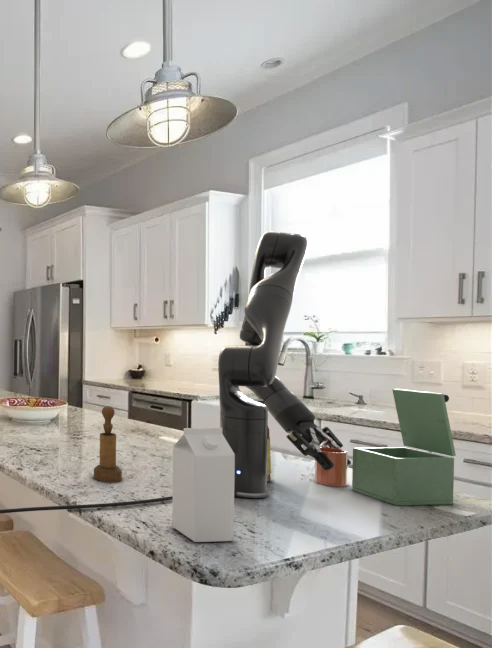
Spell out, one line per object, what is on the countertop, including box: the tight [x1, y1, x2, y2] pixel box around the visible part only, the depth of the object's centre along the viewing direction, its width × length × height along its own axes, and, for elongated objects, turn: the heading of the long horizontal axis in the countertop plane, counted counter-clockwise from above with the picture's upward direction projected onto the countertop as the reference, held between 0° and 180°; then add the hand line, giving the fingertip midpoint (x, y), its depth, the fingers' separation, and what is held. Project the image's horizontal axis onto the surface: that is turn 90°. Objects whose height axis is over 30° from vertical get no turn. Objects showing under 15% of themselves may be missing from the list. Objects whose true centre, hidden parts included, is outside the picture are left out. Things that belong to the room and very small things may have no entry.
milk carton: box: [171, 427, 235, 543], centre depth 89 cm, size 7×7×19 cm
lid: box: [392, 388, 457, 457], centre depth 110 cm, size 13×11×5 cm
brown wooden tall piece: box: [93, 405, 123, 483], centre depth 125 cm, size 7×6×18 cm
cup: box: [314, 446, 348, 488], centre depth 120 cm, size 6×6×8 cm
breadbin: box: [351, 446, 455, 506], centre depth 110 cm, size 13×11×10 cm
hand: (338, 466), depth 119 cm, fingers closed on cup, 6 cm apart
